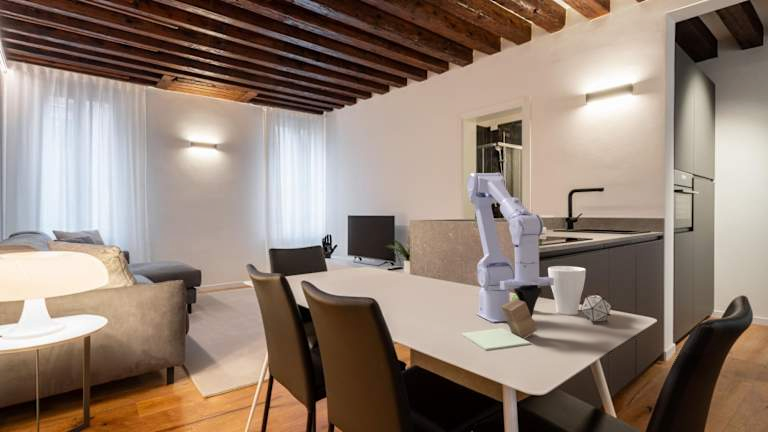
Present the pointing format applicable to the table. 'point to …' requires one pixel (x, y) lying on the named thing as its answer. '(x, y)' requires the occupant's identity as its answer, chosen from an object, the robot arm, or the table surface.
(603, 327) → the table surface
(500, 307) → the robot arm
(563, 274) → the cup
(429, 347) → the table surface
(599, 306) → the game die
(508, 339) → the mat
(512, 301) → the wooden block
